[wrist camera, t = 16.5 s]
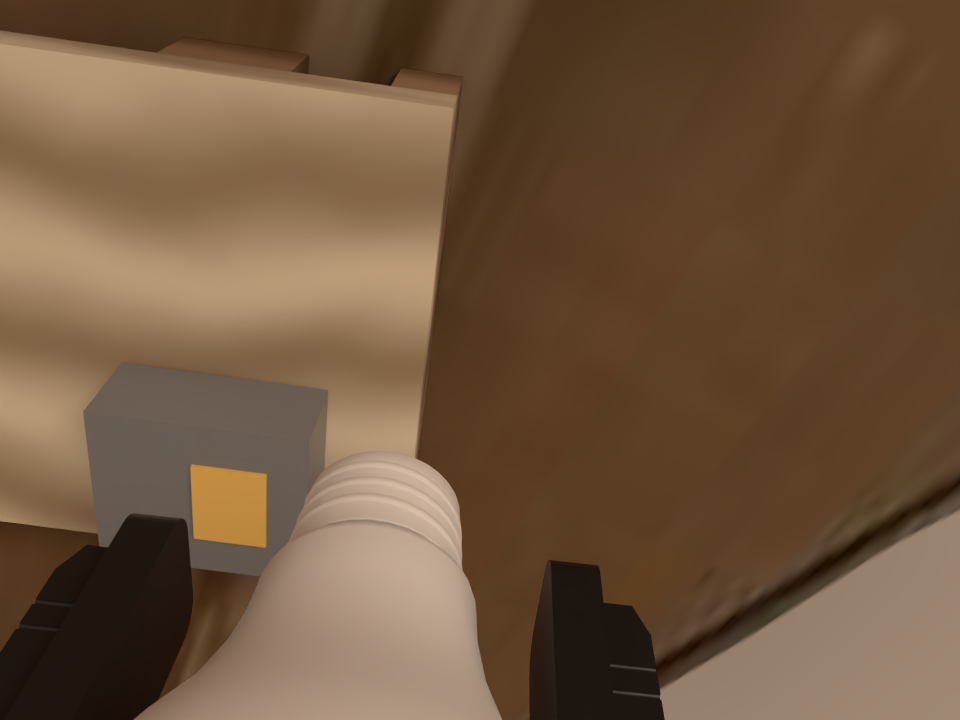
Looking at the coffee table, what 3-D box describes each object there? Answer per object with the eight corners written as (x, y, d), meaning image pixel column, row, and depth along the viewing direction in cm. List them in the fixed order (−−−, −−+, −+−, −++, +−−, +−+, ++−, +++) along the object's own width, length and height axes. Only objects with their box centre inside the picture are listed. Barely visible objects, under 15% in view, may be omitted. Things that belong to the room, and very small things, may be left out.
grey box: (121, 362, 30) (80, 414, 27) (328, 390, 30) (308, 444, 27) (134, 500, 33) (98, 559, 30) (321, 524, 33) (303, 585, 30)
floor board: (-290, -31, 28) (-405, -14, 24) (462, 76, 28) (453, 108, 25) (-155, 431, 37) (-226, 492, 33) (412, 505, 37) (401, 572, 34)
